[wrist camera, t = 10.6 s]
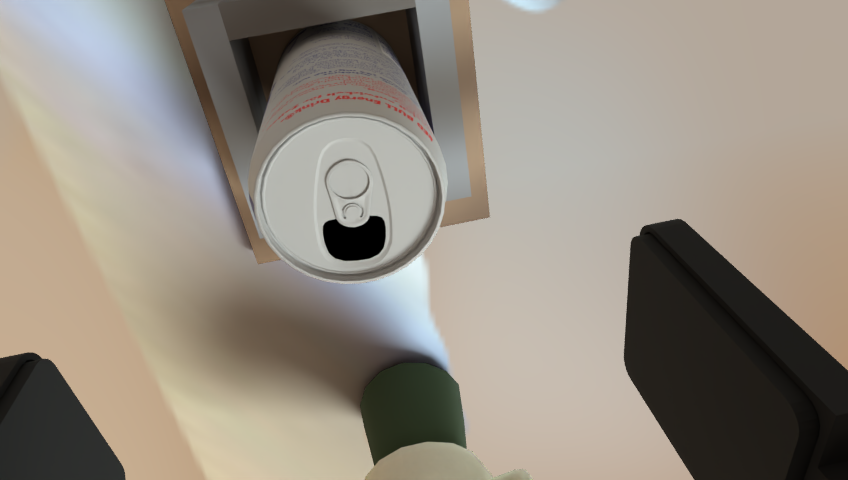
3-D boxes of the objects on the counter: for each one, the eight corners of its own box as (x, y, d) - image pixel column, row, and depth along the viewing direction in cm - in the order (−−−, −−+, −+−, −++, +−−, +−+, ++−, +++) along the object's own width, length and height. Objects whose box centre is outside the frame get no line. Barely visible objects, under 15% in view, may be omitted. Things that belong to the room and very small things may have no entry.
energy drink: (286, 144, 26) (263, 300, 16) (267, 20, 23) (224, 111, 13) (403, 135, 27) (453, 280, 17) (398, 13, 24) (454, 95, 14)
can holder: (136, -102, 22) (89, -103, 17) (448, -153, 22) (478, -168, 18) (260, 253, 30) (249, 312, 26) (484, 208, 31) (511, 257, 26)
